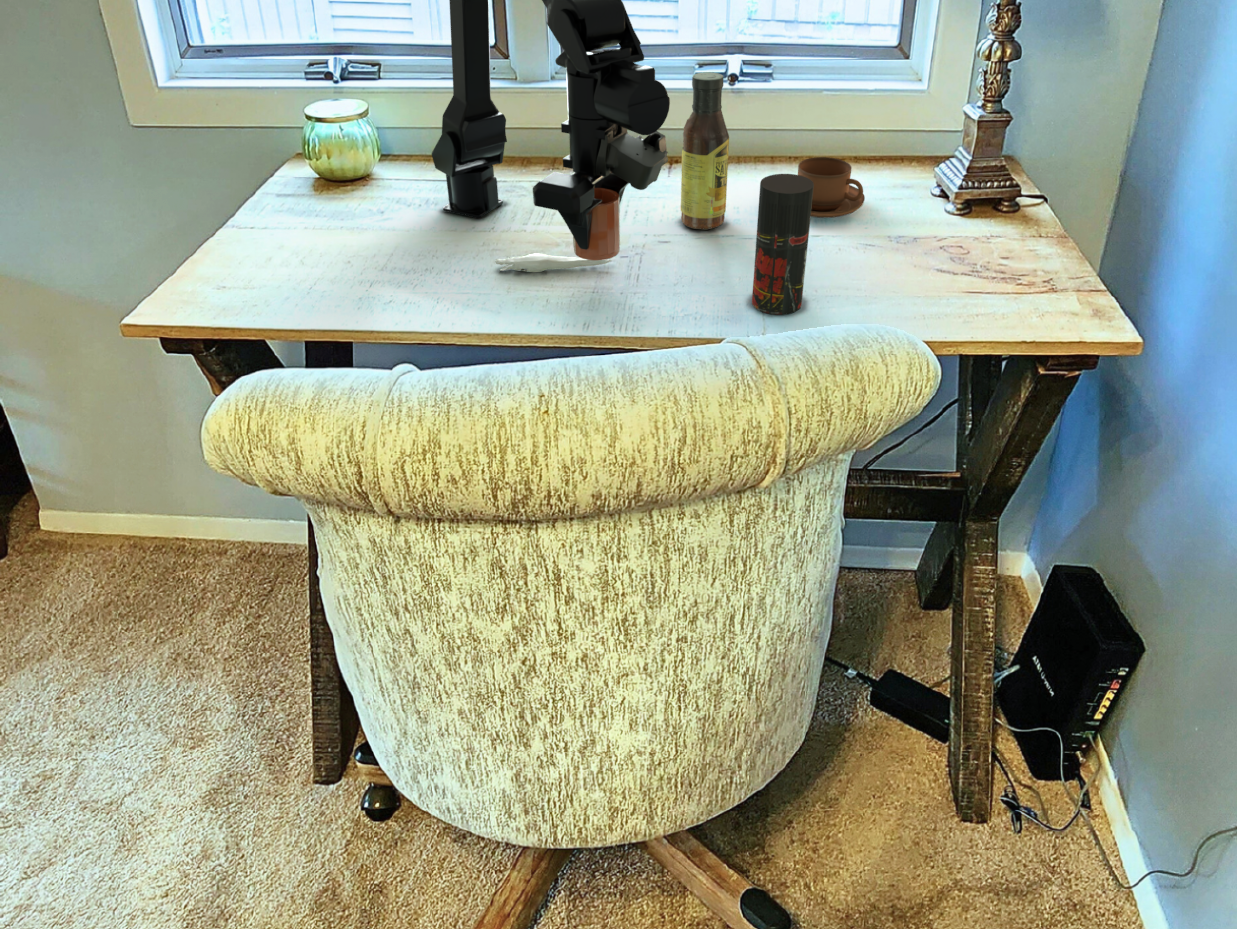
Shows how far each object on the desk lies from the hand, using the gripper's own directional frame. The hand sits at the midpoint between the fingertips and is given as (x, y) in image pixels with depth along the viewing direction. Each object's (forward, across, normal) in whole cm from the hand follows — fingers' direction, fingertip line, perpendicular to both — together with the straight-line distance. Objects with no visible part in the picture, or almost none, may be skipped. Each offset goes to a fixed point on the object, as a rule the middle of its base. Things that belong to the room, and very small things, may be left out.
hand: (596, 239), depth 126 cm
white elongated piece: (+6, 0, +6) cm, 9 cm away
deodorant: (+6, +4, -23) cm, 24 cm away
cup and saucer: (+6, +34, -18) cm, 39 cm away
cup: (+2, 0, 0) cm, 2 cm away
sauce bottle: (+6, +22, -5) cm, 23 cm away
